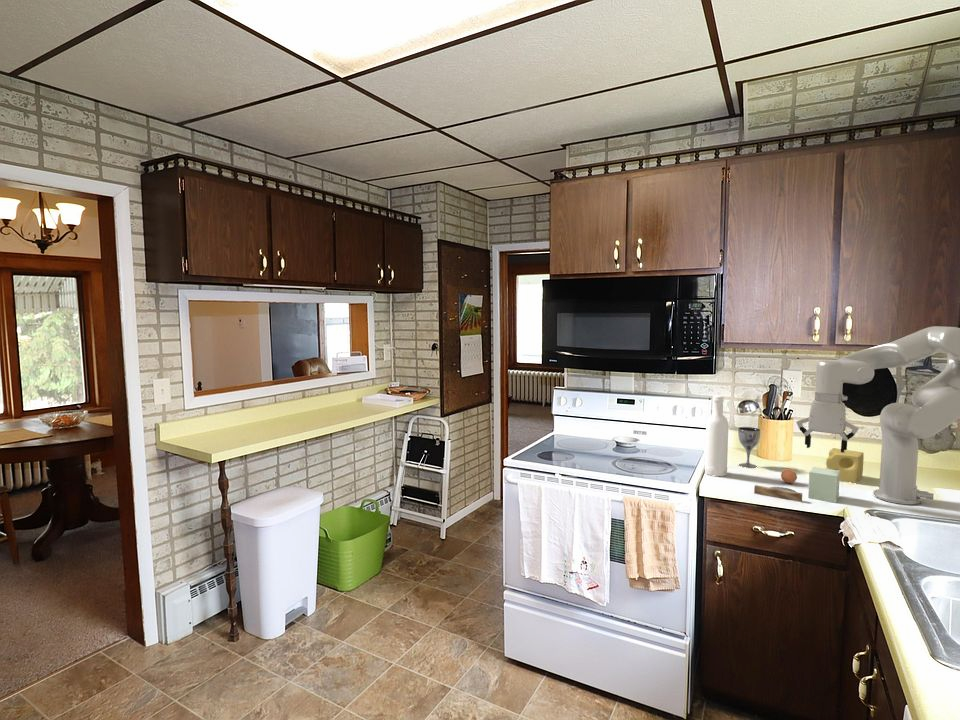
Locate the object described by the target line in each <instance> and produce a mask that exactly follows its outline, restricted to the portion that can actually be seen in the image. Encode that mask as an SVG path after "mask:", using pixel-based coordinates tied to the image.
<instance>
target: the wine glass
mask: <svg viewBox="0 0 960 720" xmlns="http://www.w3.org/2000/svg"><path fill="white" fill-rule="evenodd" d="M737 431H738V432H737V433H738V434H737V436H738V441H739V443H740V445H741V446H742V447H743V448H744V449H745V452H746V462H741V464H740V463H738V464H739V465H738V467H741V466H742V467H741V468H744V467H746V468H745V469H757V468H758V467H757V466H758V465H757V464H755V463H751V462H750V457H751V453H752V450H753V449H755V447H757V445H758V444H759V442H760V438H761V429H760V428H757V427H751V426H741V427H738V430H737ZM756 465H757V466H756ZM756 467H757V468H756Z"/></svg>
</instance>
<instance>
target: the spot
mask: <svg viewBox="0 0 960 720" xmlns="http://www.w3.org/2000/svg"><path fill="white" fill-rule="evenodd" d="M768 487H769V486H768ZM769 488H775V489H781V490H787V491H792V492H797V491H796V490H793V488H792V489H791V488H789V487H788V488H787V487H783V486H770V487H769Z"/></svg>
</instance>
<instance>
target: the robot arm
mask: <svg viewBox="0 0 960 720" xmlns="http://www.w3.org/2000/svg"><path fill="white" fill-rule="evenodd" d="M936 354H943V355H944V354H946V360H947V361H946V365H945V368H944V369H943V370H942V371H941V372H939V373H938V374H937V375H936V376H934V377H933V378H931V379H930V380H929V381H927V382H926V383H924V384H923V385H921V386H920V387H918V388H917V389H915V391H914V392H913V393H912V395H911V402H912V404H913V405H911V404H908V403H903V402H892V403H890V404H887V405H885V406H884V407H883V408H882V410H881V412H880V415H879V423H880V424H879V425H880V429H881V450H880V451H881V452H880V468H879V488H878V489H877V488H876V489H874V490H873V492H872V493H873V494H874V495H875V496H876V497H875V496H874V495H873V496H874V497H875V498H877V497H878V498H877V499H879V498H880V499H879V500H881V499H883V500H882V501H884V500H885V501H884V502H888V503H892V504H898V505H920V504H921V502H922V498H923V499H926V500H927V499H928V500H934V498H935V497H934V496H935V495H934V493H932V492H929V491H925V490H924V491H923V490H920V489H918V485H917V478H918V477H917V476H918V475H917V474H918V473H917V472H918V459H919V442H918V439H920V440H921V439H923V440H924V439H928V438H929V439H930V438H931V437H934V436H935V435H937V434H938V433H940V432H941V431H943V430H944V429H946V428H947V427H949V426H950V425H952V424H953V423H955V422H957V421H958V420H959V419H960V327H958V326H957V327H956V326H942V325H941V326H938V325H936V326H935V325H934V326H928V327H925V328H922V329H920V330H917V331H915V332H913V333H910V334H908V335H905V336H904V337H900V338H899V339H895V340H893V341H891V342H888V343H883V344H880V345H876V346H873V347H872V346H871V347H869V348H865V349H860V350H858V351H855V352H852V353H849V354H848V355H845V356H843V357H840V358H838V359H836V360H829V359H827V360H825V359H824V360H819V361H817V363H816V365H815V366H816V367H815V368H816V369H815V384H814V385H815V387H814V400H812V401H811V405H810V409H809V416H808V417H806V418H803V419H800V420H797V421H796V422H795V423H796V425H797V427H798V429H799V430H800V431H801V433H802V434H803V435H804V445H806V449H810V448H811V445H812V444H811V443H812V441H811V440H812V435H811V434H812V432H816V433H824V434H833V435H838V436H840V438H842V439H841V440H840V441H841V444H840V449H841V452H842V453H844V450H848V440H850V439H851V438H853V437H854V436H855V435H856V434H857V432H858V431H859V426H856V425H854V424H853V423H850V422H848V421H847V418H846V416H847V415H846V413H847V412H846V411H847V410H846V405H845V403H844V402H843V401H848V396H847V395H844V394H843V384H845V383H846V384H852V385H864V384H866V383H869V382H871V381H872V380H873V379H874V376H875V370H880V369H886V368H887V369H893V368H900V367H906V366H909V365H910V364H913V363H916V362H918V361H920V360H923V359H926V358H928V357H931V356H933V355H936ZM806 423H808V424H807V425H808V427H807V428H808V429H806V428H805V427H804V425H803V424H806ZM846 427H848V428H849V429H851V431H850V432H849V433H848V434H847V433H846V432H845V431H846Z"/></svg>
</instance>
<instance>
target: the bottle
mask: <svg viewBox="0 0 960 720" xmlns="http://www.w3.org/2000/svg"><path fill="white" fill-rule="evenodd" d="M724 400H725V399H724V396H723V395H719V394H718V395H713V396H712V414H711V415H709V416H708V417H707V419H706V425H705V427H706V428H705V452H704V453H705V458H704V459H705V460H704V473H705V474H706V475H708V474H710V475H709V476H711V475H715V476H714V477H718V476H721V477H725V475H726V476H727V475H728V450H729V449H728V447H729V422H728V419H727V417H726V416H725V415H724Z"/></svg>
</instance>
